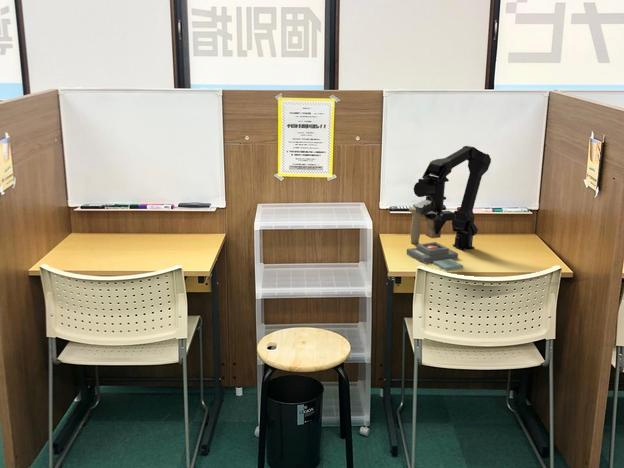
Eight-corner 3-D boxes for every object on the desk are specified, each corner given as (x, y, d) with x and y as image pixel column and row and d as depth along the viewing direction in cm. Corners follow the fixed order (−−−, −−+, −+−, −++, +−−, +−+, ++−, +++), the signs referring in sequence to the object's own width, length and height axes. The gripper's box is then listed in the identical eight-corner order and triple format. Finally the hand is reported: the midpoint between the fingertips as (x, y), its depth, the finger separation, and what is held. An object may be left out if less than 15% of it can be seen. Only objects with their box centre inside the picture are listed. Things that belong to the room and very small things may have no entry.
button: (433, 253, 269) (434, 244, 268) (439, 256, 265) (440, 248, 264) (424, 254, 267) (424, 246, 266) (430, 258, 264) (431, 249, 263)
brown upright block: (434, 234, 267) (435, 217, 265) (440, 237, 263) (441, 220, 261) (425, 235, 265) (427, 218, 263) (431, 238, 261) (433, 221, 259)
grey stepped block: (439, 249, 275) (440, 240, 274) (457, 258, 264) (458, 248, 263) (406, 253, 268) (407, 244, 267) (423, 263, 258) (424, 253, 257)
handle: (422, 245, 280) (425, 210, 275) (407, 244, 280) (409, 209, 276) (422, 241, 284) (424, 207, 280) (406, 241, 285) (409, 206, 281)
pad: (450, 261, 261) (450, 258, 260) (462, 267, 254) (463, 265, 253) (432, 263, 257) (433, 261, 257) (445, 270, 251) (445, 267, 250)
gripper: (405, 190, 264) (403, 228, 268) (432, 200, 248) (429, 241, 252) (429, 188, 269) (426, 225, 273) (457, 198, 252) (454, 238, 257)
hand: (433, 232), depth 264 cm, fingers closed on brown upright block, 4 cm apart
